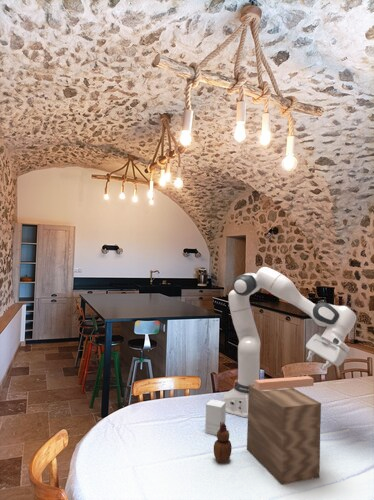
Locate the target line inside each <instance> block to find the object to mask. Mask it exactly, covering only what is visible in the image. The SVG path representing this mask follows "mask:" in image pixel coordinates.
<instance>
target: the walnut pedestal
mask: <svg viewBox="0 0 374 500" xmlns="http://www.w3.org/2000/svg"><path fill="white" fill-rule="evenodd" d="M321 414H322V403H321V402H319V401H317V400H316V399H315V398H313V397H310V396H309V395H307V394H305V393H303V392H302V391H299V390H297V389H295V388H284V389H273V390H261V391H259V390H257V389H256V388H254V384H252V385H249V396H248V417H247V430H246V431H247V433H246V450H247V452H249V454H250V455H251V456H252V457H253V458H254V459H256V461H257V462H258V463H259V464H261V465H262V466H263V468H265V470H267V472H268V473H269V474H270V475H271V476H272V477H273V478H274V479H275V480H276V481H277V482H278V483H279V484H280V485H286V484H291V483H296V482H297V481H298V482H302V481H307V479H308V480H311V479H312V478H313V479H316V478H320V474H321V473H320V470H321V469H320V467H321V465H320V464H321V461H320V460H321V425H322V424H321V422H322V421H321V420H322V416H321Z"/></svg>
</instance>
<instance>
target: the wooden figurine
mask: <svg viewBox="0 0 374 500" xmlns="http://www.w3.org/2000/svg"><path fill="white" fill-rule="evenodd" d="M232 447H233V446H232V442H231V441H230V431H229V430H228V429H227V425H226V423H225V424H224V422H223V423H221V422H220V429H219V430H218V432H217V435H216V440H215V441H214V444H213V455H214V457H215V460H216V462H219V463H227V462H228V461H230V458H231V456H232Z"/></svg>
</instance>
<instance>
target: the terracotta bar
mask: <svg viewBox="0 0 374 500" xmlns="http://www.w3.org/2000/svg"><path fill="white" fill-rule="evenodd" d="M314 382H315V379H314V378H313V377H312V376H309V375H304V376H291V377H290V376H288V377H279V378H277V377H276V378H265V379H259V380H255V382H254V388H256V389H257V390H259V391H261V390H273V389H284V388H294V389H295V388H306V387H314V386H315V385H314Z"/></svg>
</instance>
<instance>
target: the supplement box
mask: <svg viewBox="0 0 374 500" xmlns="http://www.w3.org/2000/svg"><path fill="white" fill-rule="evenodd" d="M226 413H227V412H226V402H223V400H217V399H213V398H211V399H210V400H209V401H208V402H206V403H205V428H204V429H205V430H204V433H205V434H209V435H213V436H217V432H218V430H219V429H220V422H221V423H223V422H224V424H225V425H226V415H227V414H226Z"/></svg>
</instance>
